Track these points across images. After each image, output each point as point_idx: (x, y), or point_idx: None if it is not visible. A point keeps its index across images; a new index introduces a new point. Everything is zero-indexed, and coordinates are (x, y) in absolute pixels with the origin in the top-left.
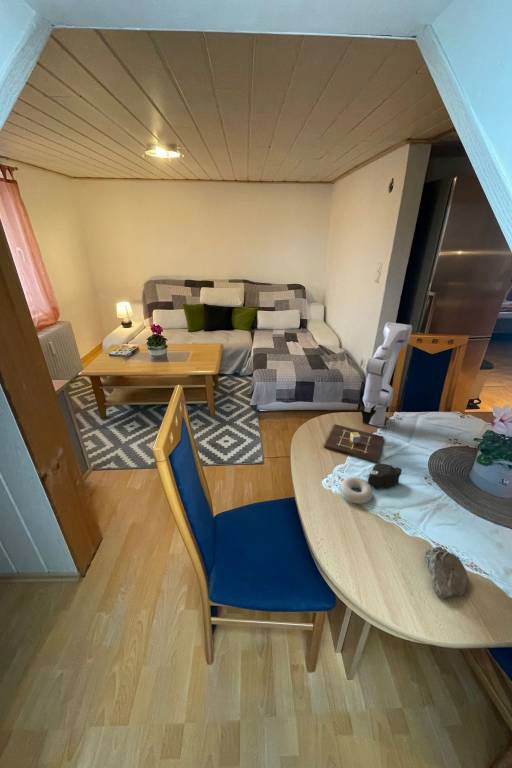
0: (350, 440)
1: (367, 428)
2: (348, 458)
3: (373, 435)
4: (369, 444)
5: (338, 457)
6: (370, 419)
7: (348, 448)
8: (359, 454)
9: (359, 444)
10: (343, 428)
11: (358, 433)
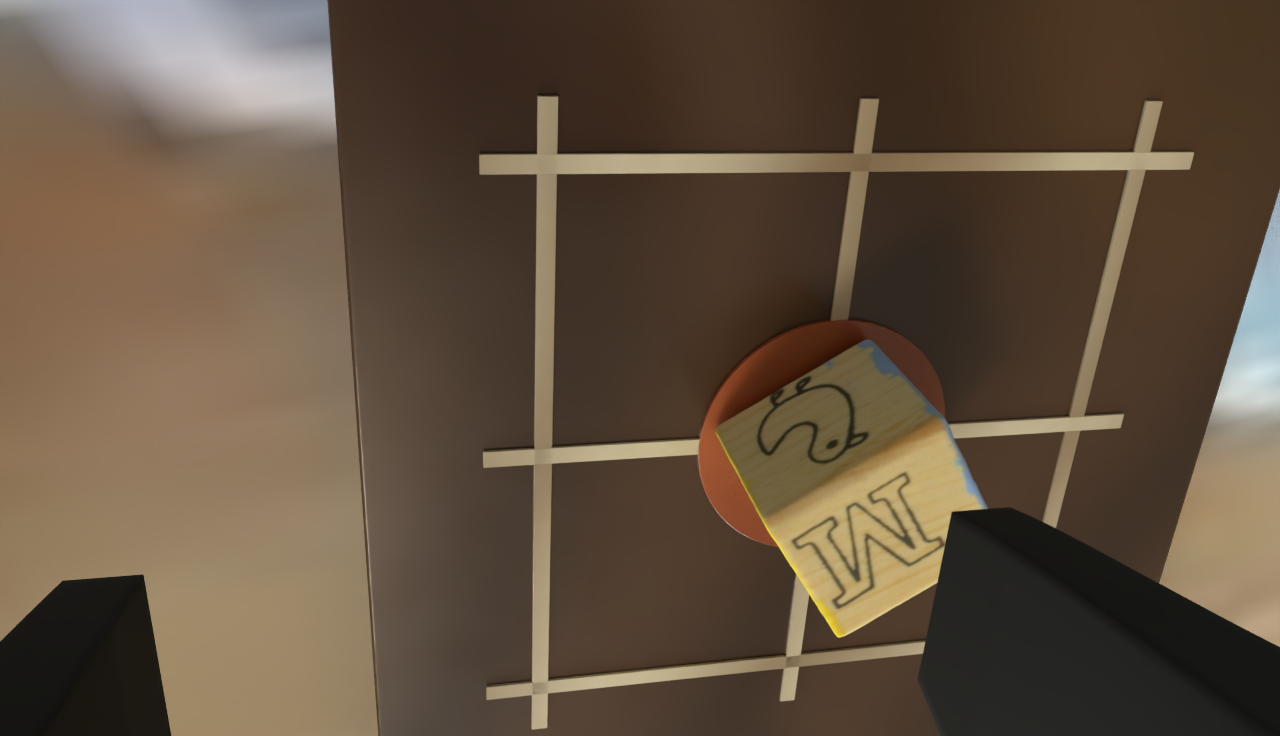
0: None
1: (23, 270)
2: (1261, 383)
3: (408, 79)
4: (861, 117)
5: (1258, 522)
6: (1272, 650)
7: (1101, 472)
8: (1242, 251)
9: (922, 321)
10: (462, 732)
11: (826, 492)
